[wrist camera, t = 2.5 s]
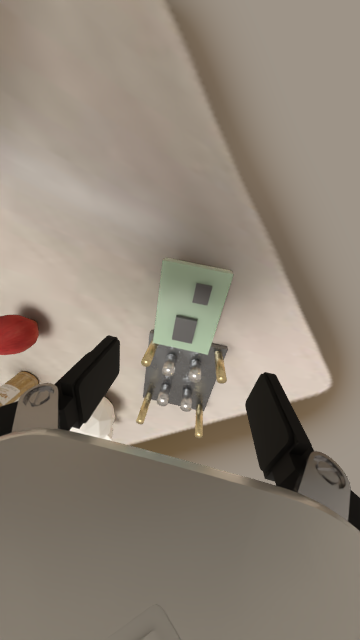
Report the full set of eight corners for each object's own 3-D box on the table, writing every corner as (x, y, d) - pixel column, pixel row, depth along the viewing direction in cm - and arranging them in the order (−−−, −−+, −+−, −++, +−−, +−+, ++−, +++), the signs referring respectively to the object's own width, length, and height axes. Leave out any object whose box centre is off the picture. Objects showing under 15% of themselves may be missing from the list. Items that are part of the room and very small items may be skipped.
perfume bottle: (62, 392, 33) (92, 422, 39) (38, 444, 25) (80, 471, 31) (105, 378, 33) (128, 410, 40) (95, 424, 26) (125, 455, 32)
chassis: (151, 330, 26) (137, 354, 21) (226, 346, 26) (233, 375, 20) (144, 393, 33) (133, 424, 27) (203, 407, 32) (203, 440, 27)
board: (166, 257, 18) (161, 260, 16) (230, 270, 18) (234, 275, 15) (156, 334, 22) (151, 345, 20) (207, 345, 22) (207, 357, 20)
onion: (38, 341, 30) (-13, 374, 23) (11, 316, 28) (-53, 343, 21) (58, 329, 28) (9, 360, 21) (30, 301, 26) (-33, 325, 19)
